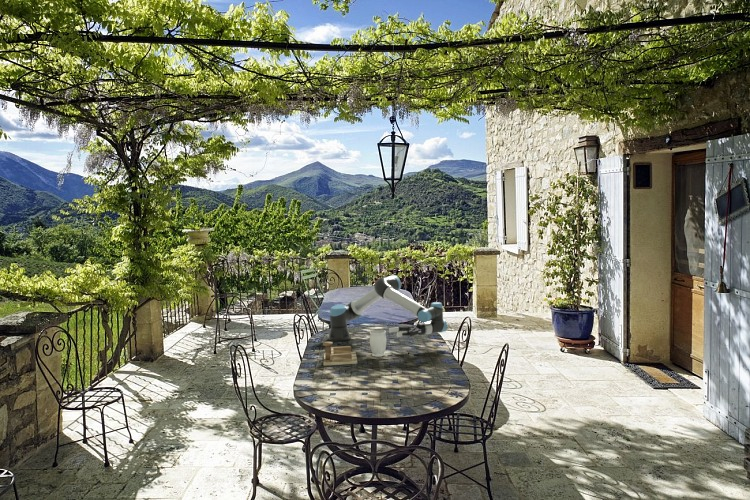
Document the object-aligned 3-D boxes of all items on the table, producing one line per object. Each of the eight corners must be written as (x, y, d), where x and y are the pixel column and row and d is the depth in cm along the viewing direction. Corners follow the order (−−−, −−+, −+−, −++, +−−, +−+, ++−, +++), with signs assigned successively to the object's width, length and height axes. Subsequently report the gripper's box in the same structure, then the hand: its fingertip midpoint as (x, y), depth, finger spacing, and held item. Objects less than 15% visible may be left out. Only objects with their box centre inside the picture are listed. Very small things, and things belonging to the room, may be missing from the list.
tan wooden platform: (324, 355, 335) (323, 336, 334) (355, 353, 336) (355, 334, 335) (323, 365, 313) (322, 345, 312) (357, 363, 314) (356, 343, 313)
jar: (385, 357, 324) (384, 333, 323) (368, 357, 326) (367, 333, 325) (388, 352, 335) (387, 329, 333) (372, 352, 337) (371, 329, 335)
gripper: (432, 338, 328) (400, 342, 321) (416, 330, 351) (386, 334, 344) (431, 326, 327) (400, 330, 320) (415, 319, 351) (385, 322, 344)
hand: (392, 332), depth 332 cm, fingers open, 13 cm apart
